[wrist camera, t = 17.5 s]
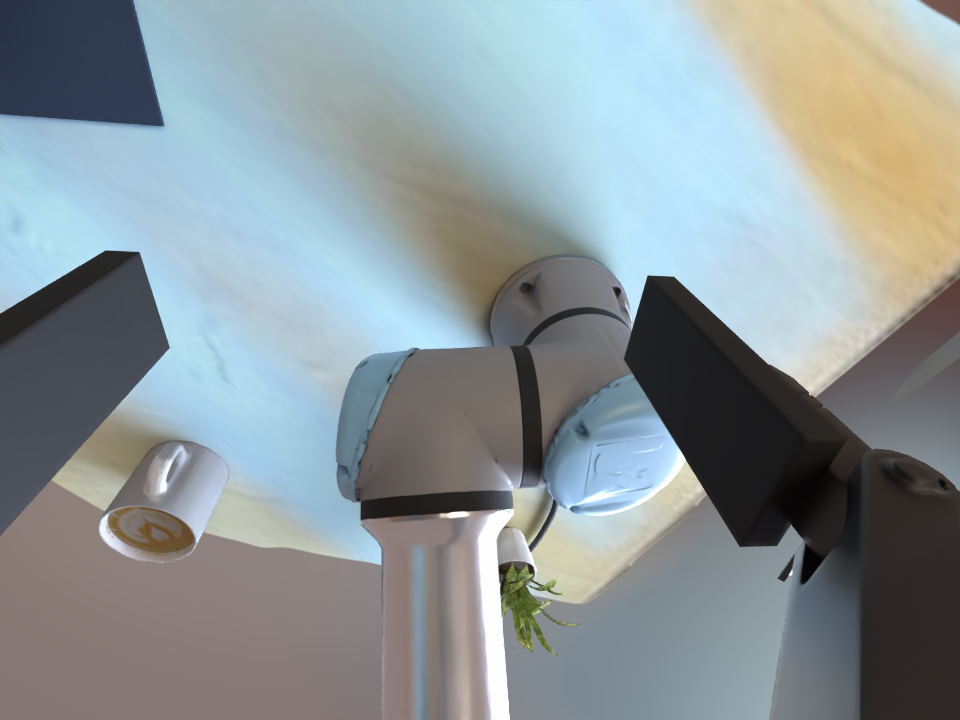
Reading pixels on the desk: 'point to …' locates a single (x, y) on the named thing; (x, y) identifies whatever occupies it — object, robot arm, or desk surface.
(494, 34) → the desk surface
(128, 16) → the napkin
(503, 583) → the house plant
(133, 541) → the coffee mug
